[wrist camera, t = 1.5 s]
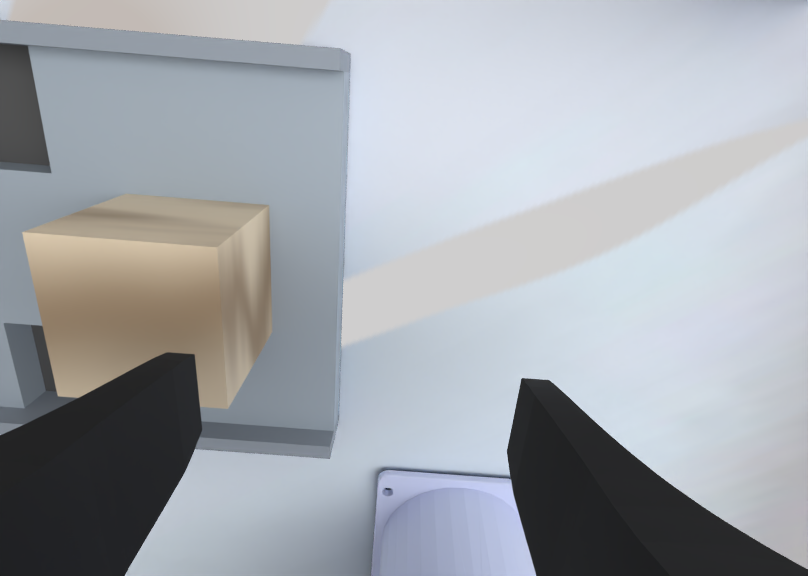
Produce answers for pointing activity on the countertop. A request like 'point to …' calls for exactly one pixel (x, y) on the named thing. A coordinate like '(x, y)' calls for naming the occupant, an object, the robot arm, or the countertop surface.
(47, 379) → the trap lane
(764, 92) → the countertop surface
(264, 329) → the beech block
